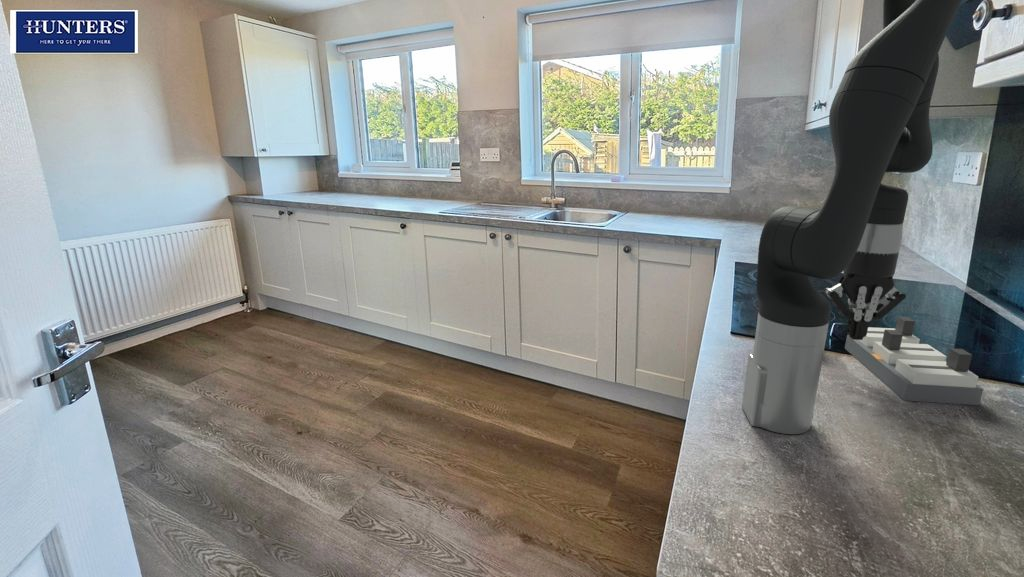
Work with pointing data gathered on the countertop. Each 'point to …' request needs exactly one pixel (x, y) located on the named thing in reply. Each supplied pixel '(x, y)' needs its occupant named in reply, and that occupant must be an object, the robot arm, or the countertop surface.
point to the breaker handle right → (959, 360)
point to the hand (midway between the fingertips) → (855, 338)
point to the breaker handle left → (905, 325)
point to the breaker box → (915, 370)
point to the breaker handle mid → (892, 339)
